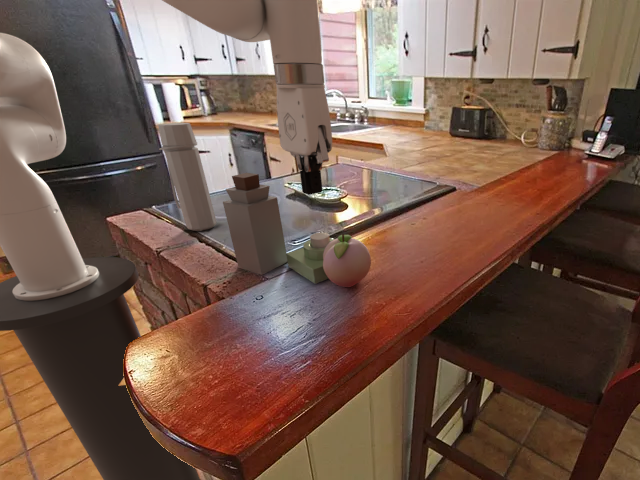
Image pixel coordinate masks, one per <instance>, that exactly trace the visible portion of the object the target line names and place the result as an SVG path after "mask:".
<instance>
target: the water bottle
mask: <svg viewBox="0 0 640 480" xmlns="http://www.w3.org/2000/svg"><path fill="white" fill-rule="evenodd" d="M157 127H158V131H159V137H160V141H161V147H160V148H158V150H159V151H163V153H164V155H165V156H164V157H165V159H166V165H167V169H168V174H169V179H170V184H171V191H172V195H173V199H174V202H175V204H176V206H177V208H178V209H179V210H181V213H182V216H183V221H184V223H185V228H186V229H188V230H189V231H193V232H202V231H207V230H210V229H212V228H214V227H215V226H216V225H217V223H218V221H217V218H216V214H215V210H214V207H213V203H212V198H211V194H210V190H209V187H208V183H207V179H206V175H205V171H204V166H203V163H202V159H201V155H200V151H199V148H198V147H196V146H198V142H197V139H196V137H195V134H194V131H193V128H192V125H191V123H190V122H169V123H168V122H167V123H159V124H157Z"/></svg>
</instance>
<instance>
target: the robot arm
mask: <svg viewBox="0 0 640 480" xmlns="http://www.w3.org/2000/svg"><path fill="white" fill-rule="evenodd" d="M161 1H162V2H163V3H166V4H167V5H169V6H171V7H172V8H174V9H176V10H178V11H179V12H181V13H183V14H185V15H187V16H188V17H190V18H192V19H193V20H195V21H197V22H198V23H200V24H202V25H204V26H206V27H207V28H209V29H211V30H213V31H215V32H217V33H219V34H222V35H224V36H228V37H230V38H234V39H236V40H238V41H242V42H246V43H258V42H265V41H269V42H270V43H269V44H270V51H271V56H272V58H271V59H272V64H273V72H274V79H275V84H276V85H275V86H276V116H277V128H278V139H279V144H280V148H281V149H282V150H284V151H285V152H289V153H290V156H292V157H293V158H295V160H296V164H297V169H298V171H299V175H300V176H299V178H300V183H301V184H300V185H301V192H302V193H303V194H305V195H308V196H310V195H315V194H320V193H322V192H323V182H322V172H321V171H322V170H323V164H324V163H328V162H329V161H330V158H329V153H330V152H331V151H332V150H333V133H332V122H331V116H330V110H329V103H328V98H327V94H326V89H325V88H326V85H325V73H324V72H325V71H324V60H323V48H322V37H321V36H322V35H321V25H320V23H321V22H320V13H319V12H320V10H319V0H161ZM60 105H61V104H60V101H59V96H58V92H57V88H56V84H55V81H54V77H53V74H52V72H51V69H50V67H49V65H48V64H47V62H46V60H45V59H44V58H43V56H42V55H41V54H40V52H39V51H37V49H35V48H34V47H33V46H32V45H31V44H29V43H28V42H26V40H23V39H21V38H20V37H18V36H15V35H12V34H8V33H5V32H0V248H1V250H2V252H3V254H4V255H5V257H6V259H7V261H8V263H9V264H10V267H11V268H12V270H13V272H14V273H15V276H17V277H18V279H19V281H20V283H19V284H18V285H16V286H15V287H14V288H13V291H12V292H13V294H14V296H15V297H16V298H17V299H19V300H24V301H35V300H43V299H49V298H54V297H58V296H62V295H65V294H68V293H71V292H74V291H77V290H79V289H81V288H83V287H86V286H87V285H89V284H91V283H92V282H94V281H95V280H96V279H97V278H98V276H99V271H98V269H97V268H96V267H93V266H89V265H85V264H84V262H83V259H84V258H83V257H82V255H81V253H80V250H79V248H78V245H77V244H76V241H75V240H74V238H73V235H72V232H71V231H70V228H69V226H68V224H67V222H66V219H65V216H64V215H63V212H62V211H61V209H60V206H59V204H58V202H57V200H56V197H55V196H54V194H53V192H52V190H51V187H49V185H48V184H47V182H46V181H44V180H43V178H42V177H40V176H39V175H38V174H37V173H36V172H35V171H34V170H33V169H31V168H30V166H29V164H34V163H39V162H43V161H47V160H50V159H54V158H56V157H58V156H59V155H61V154H62V153H63V151H64V150H65V148H66V145H67V134H66V133H67V132H66V127H65V122H64V118H63V114H62V110H61V106H60Z"/></svg>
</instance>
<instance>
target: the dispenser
mask: <svg viewBox="0 0 640 480" xmlns="http://www.w3.org/2000/svg"><path fill="white" fill-rule="evenodd" d="M329 238H330V242H331V241H333V240H335V239H336V238H333V237H329ZM325 248H326V247H325ZM325 248H312V247H311V240H310V239H308V240H307V241H305V242H304V243H303V247H302V248H298V249H296V250H292V251H289V252H286V255H287V261H288V262H287V266H288V268H289V269H291V270H293V271H294V272H296V273H297V274H299V275H300V276H301V277H303V278H305V279H306V280H308V281H310V282H311V283H313V284H314V285H316V284H319V283H321V282H324V281H326V280H330V279H329V278H328V277H327V275H326V273H325V271H324V269H323V261H324V260H323V253H324V250H325Z"/></svg>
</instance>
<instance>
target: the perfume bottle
mask: <svg viewBox="0 0 640 480" xmlns="http://www.w3.org/2000/svg"><path fill="white" fill-rule="evenodd" d="M231 179H232V182H233V185H234V186H233V187H229V188H226V189H225V191H226V193H227V196H229V198H230V199H227V200H224V201H222V205H223V209H224V214H225V217H226V223H227V226H228V230H229V234H230V238H231V243H232V247H233V251H234V255H235V260H236V263H237V267H238V269H242V270H244V271H247V272H251V273H253V274H257V275H260V276H263V275H265V274H267V273H269V272H271V271H273V270H275V269H277V268H279V267H281V266H283V265H284V264H287V263H288V261H287V255H286V253H287V248H286V241H285V237H284V231H283V225H282V224H283V223H282V219H281V213H280V206H279V200H278V197H277V196H271V195H269V194H270V185H266V184H260V175H259V174H258V173H253V172H252V173H251V172H244V173H239V174H235V175H231Z"/></svg>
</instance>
